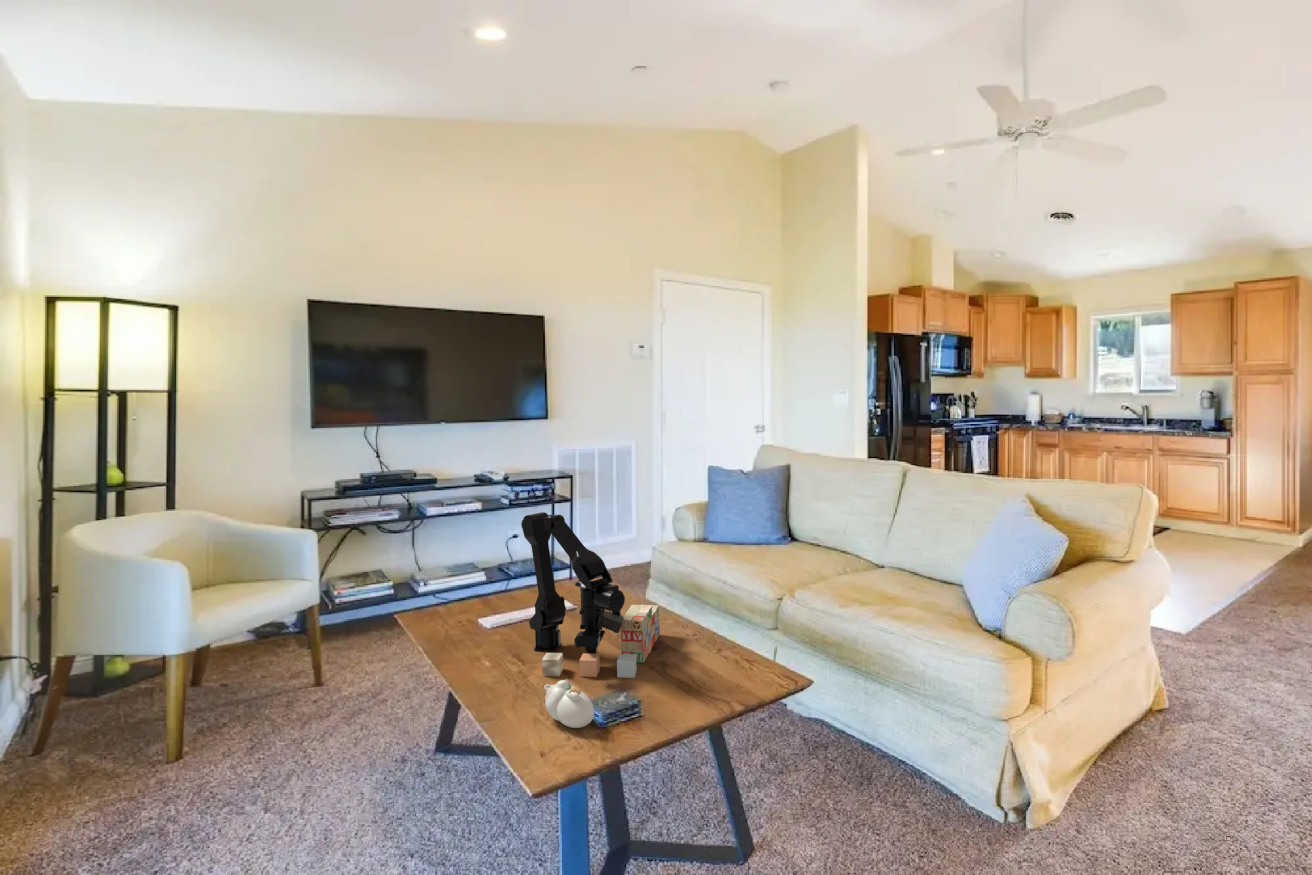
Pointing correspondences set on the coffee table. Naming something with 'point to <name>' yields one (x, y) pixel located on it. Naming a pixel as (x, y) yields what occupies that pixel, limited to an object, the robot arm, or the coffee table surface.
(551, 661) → the cream block
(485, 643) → the coffee table surface
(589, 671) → the terracotta block
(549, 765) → the coffee table surface
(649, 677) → the coffee table surface
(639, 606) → the stack of blocks
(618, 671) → the blue grey block
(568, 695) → the cat figurine
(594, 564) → the robot arm
